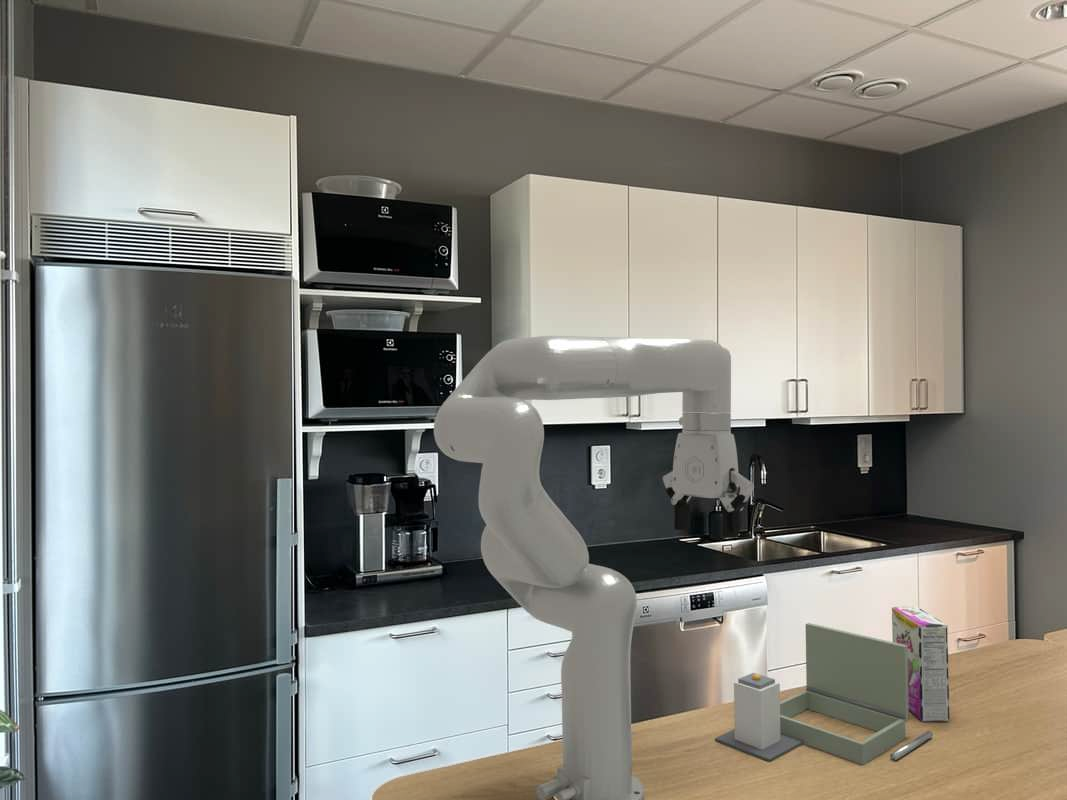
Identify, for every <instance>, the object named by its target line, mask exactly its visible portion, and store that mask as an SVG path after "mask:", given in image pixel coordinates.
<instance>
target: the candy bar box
mask: <svg viewBox="0 0 1067 800" xmlns="http://www.w3.org/2000/svg"><path fill="white" fill-rule="evenodd" d="M891 622H892V623H891V626H892V642H894V643H898V644H903V645H907V646H908V702H909V712H911V713H912V714H913V715H914V716H915V717H916V718H917V719H919V720H920V722H923V723H940V722H941V723H942V722H950V688H949V684H950V683H949V643H948V632H949V631H948V624H946V623H945V622H943V621H941V620H940V619H938V618H936V617H935V616H933V615H932V614H930V613H928V612H927V611H925V610H923V609H922V608H920V607H919V606H894V607H891Z"/></svg>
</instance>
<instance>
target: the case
mask: <svg viewBox="0 0 1067 800" xmlns="http://www.w3.org/2000/svg"><path fill="white" fill-rule="evenodd" d="M805 670H806V671H805V674H806V675H805V677H806V678H805V679H806V687H805V690H802V691H801V692H798V693H795V694H794V695H792V696H789V697H788V698H787V697H786V698H785V699H783V700H780V734H782V735H785V736H788V737H791V738H794V739H796V740H799V741H802V742H803V744H802V745H805V746H806V745H807V746H809V747H812V748H814V749H818V750H821V751H823V752H826V753H828V754H832V755H834V756H836V757H839V758H843V759H844V760H848V761H851V762H854V763H856V764H859V765H862V766H864V765H865V764H867V763H869V762H870V761H871V760H873V759H874V758H877V757H878V756H880V755H881V754H883V753H885V752H886V751H888V750H889V749H891V748H893V747H894V746H896V745H898V744H899V743H901V742H902V741H904V740H906V723H908V722H909V720H910V715H909V714H910V713H909V712H910V710H909V702H908V646H907V645H903V644H898V643H894V642H893V641H890V640H885V639H880V638H877V637H871V636H867V635H863V634H859V633H853V632H850V631H846V630H841V629H837V628H833V627H828V626H824V625H819V624H816V623H811V622H807V623H805ZM807 710H809V711H812V712H814V713H815V712H816V713H819V714H821V715H824V716H828V717H830V718H834V719H836V720H837V719H838V720H840V721H843V722H847V723H851V724H853V725H856V726H859V727H863V728H865V729H868V730H871V731H873V732H874V731H875V733H873V734H871V735H869V736H868V737H867V738H864V739H863V740H861V741H859V740H857V739H853V738H850V737H847V736H844V735H841V734H838V733H835V732H833V731H830V730H828V729H827V730H826V729H824V728H821V727H817V726H815V725H811V724H808V723H806V722H803V721H800V720H798V719H794V718H792V717H794V716H797V715H798V714H801V713H803V712H805V711H807Z"/></svg>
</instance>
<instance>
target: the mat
mask: <svg viewBox="0 0 1067 800" xmlns="http://www.w3.org/2000/svg"><path fill="white" fill-rule="evenodd" d="M714 741H715V742H717V743H720V744H722V743H723V745H725V746H728V747H730V746H731V748H733V749H735V750H738V751H740V752H743V753H745V754H747V755H751V756H754V757H756V758H758V759H761V760H764V761H765V762H766V761H767V762H768V763H771V762H772V761H773V760H775V759H779V758H780V757H782V756H784V755H786V754H787V753H789V752H791V751H792V750H795V749H796V748H798V747H801V746H802V745H804V744H803V742H802V741H799V740H796V739H794V738H791V737H788V736H785V735H782V734H780V741H778V742H776V743H774V744H772V745H770V746H768V747H766V748H764V749H762V750H761V749H759V748H756V747H754V746H751V745H748V744H746V743H743V742H741V741H738V740H735V728H734V729H731V730H729V731H727V732H725V733H723V734H720V735H719V736H716V737H715V738H714Z"/></svg>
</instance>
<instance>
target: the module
mask: <svg viewBox="0 0 1067 800" xmlns="http://www.w3.org/2000/svg"><path fill="white" fill-rule="evenodd" d="M780 685H781V684H780V682H777V681H776V679H775V678H772V677H768V676H765V675H762V674H758V673H755V672H751V673H749V674H746V675H745V676H742V677H739V678H738V680H736V681H735V682H733V706H734V707H733V711H734V712H733V714H734V716H733V717H734V719H733V720H734V729H735V740H738V741H741V742H743V743H746V744H748V745H751V746H754V747H756V748H759V749H761V750H762V749H764V748H766V747H768V746H770V745H772V744H774V743H776V742H778V741H780V701H781V695H780V694H781V692H780V691H781V688H780Z"/></svg>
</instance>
